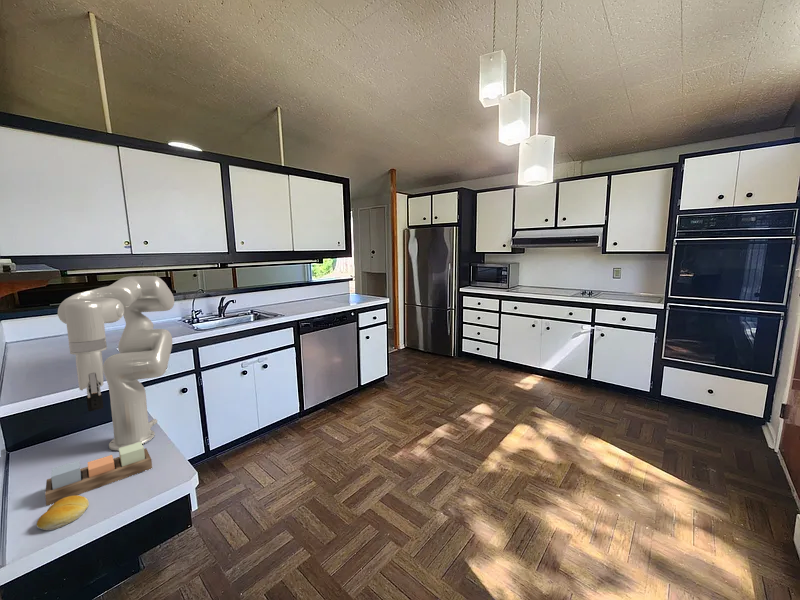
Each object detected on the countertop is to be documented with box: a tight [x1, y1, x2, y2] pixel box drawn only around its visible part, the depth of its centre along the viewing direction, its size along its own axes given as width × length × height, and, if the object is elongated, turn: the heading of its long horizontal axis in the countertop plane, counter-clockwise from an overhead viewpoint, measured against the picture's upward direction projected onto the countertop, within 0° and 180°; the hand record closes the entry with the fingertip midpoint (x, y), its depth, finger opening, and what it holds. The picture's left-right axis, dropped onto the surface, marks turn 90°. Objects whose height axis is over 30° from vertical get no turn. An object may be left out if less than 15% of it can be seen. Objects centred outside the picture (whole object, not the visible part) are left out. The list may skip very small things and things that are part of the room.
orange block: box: [87, 454, 115, 478], centre depth 96 cm, size 5×5×4 cm
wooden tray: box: [44, 447, 153, 506], centre depth 96 cm, size 22×9×3 cm, turn 135°
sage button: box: [118, 442, 145, 467], centre depth 101 cm, size 5×5×4 cm
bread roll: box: [36, 494, 90, 531], centre depth 81 cm, size 8×9×4 cm
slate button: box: [50, 459, 81, 490], centre depth 91 cm, size 5×5×4 cm
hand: (95, 409), depth 95 cm, fingers closed
